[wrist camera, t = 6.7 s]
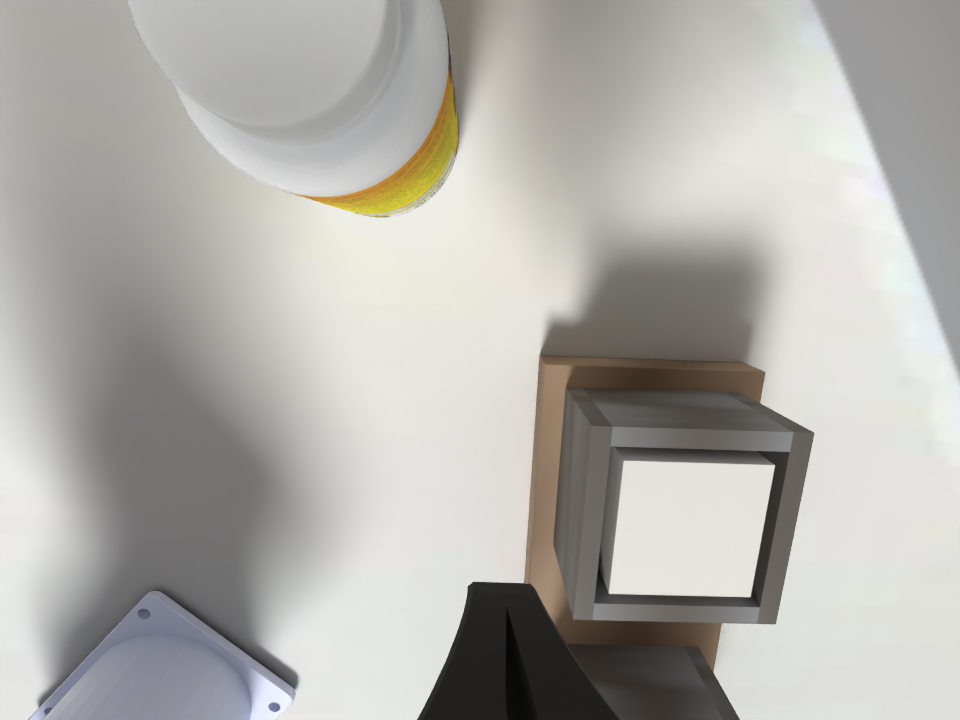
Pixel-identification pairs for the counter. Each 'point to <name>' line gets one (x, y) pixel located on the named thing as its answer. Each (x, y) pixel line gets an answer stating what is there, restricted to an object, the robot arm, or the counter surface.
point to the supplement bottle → (316, 93)
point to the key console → (580, 508)
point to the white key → (683, 521)
